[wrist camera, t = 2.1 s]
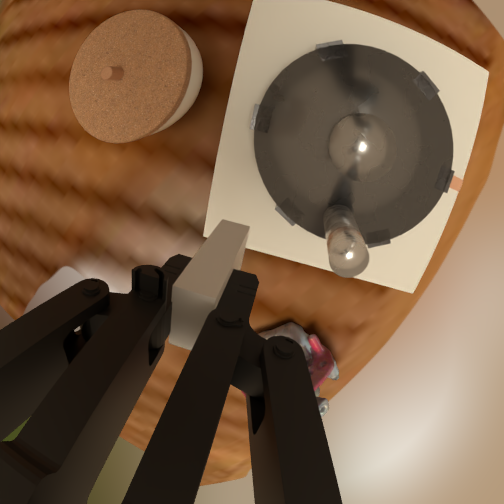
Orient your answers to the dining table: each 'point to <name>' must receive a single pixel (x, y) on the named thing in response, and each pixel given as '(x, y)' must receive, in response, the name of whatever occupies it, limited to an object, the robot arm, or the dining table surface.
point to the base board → (254, 88)
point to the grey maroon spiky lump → (310, 358)
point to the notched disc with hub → (353, 148)
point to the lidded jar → (134, 76)
